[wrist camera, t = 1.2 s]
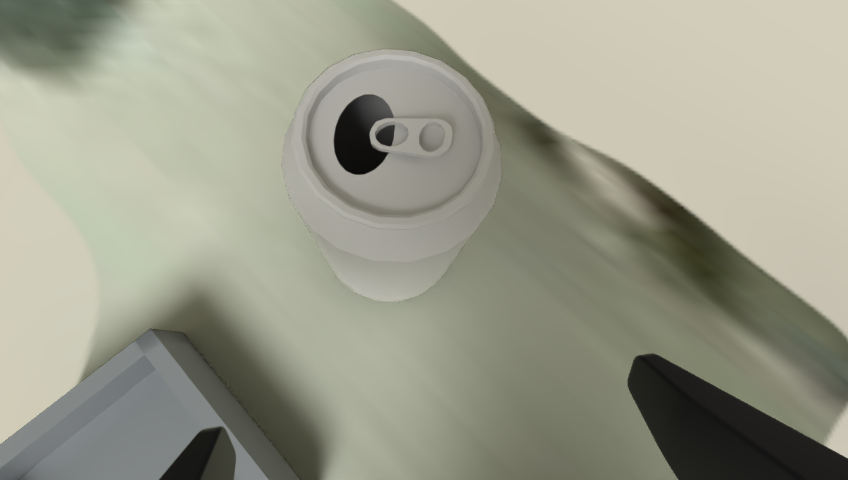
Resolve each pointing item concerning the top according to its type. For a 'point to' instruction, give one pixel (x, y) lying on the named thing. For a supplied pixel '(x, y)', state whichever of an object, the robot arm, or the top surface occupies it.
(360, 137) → the can
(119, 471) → the tray
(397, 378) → the top surface
